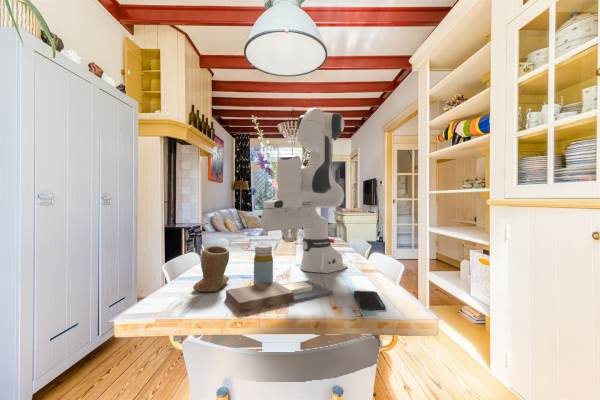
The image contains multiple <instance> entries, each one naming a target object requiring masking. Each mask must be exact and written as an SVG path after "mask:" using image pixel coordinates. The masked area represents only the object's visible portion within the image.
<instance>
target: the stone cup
mask: <svg viewBox="0 0 600 400" xmlns="http://www.w3.org/2000/svg"><path fill="white" fill-rule="evenodd" d="M229 260H230V251H229V249H228V248H226V247H223V246H220V245H219V246H218V245H211V246H207V247H205V248H204V249H203V250H202V253H201V259H200V267H201V272H202V278H201V279H200V280H199V281H198V282H196V283H195V284H194V285H193V287H192V289H194V290H195V291H198V292H204V293H205V292H216V291H218V290H220V289H221V288H222V287H223V286H225V284H226V283H228V281H229V280H230V278H229V277H228V276H227V275H225V272H226V268H227V267H228V264H229Z"/></svg>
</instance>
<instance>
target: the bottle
mask: <svg viewBox="0 0 600 400" xmlns="http://www.w3.org/2000/svg"><path fill="white" fill-rule="evenodd" d="M270 282H274V257H273V246H272V245H271V244H257V245H255V246H254V258H253V285H258V284H264V283H270Z"/></svg>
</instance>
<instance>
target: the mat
mask: <svg viewBox="0 0 600 400" xmlns="http://www.w3.org/2000/svg"><path fill="white" fill-rule="evenodd" d="M298 282H299V281H295V282H294V283H298ZM300 282H305V283H307V284H309V285H311V286H312V291H307V292H302V293H297V294H294V301H293V302H294V303H298V302H303V301H308V300H312V299H317V298H323V297H325V296H330V295H333V294H334V291H333V290H331V289H329V288H327V287H326V286H325V287H324V286H323V285H320V284H319V283H316V282H314V281H312V280H310V279H307V280H303V281H302V280H301V281H300ZM292 283H293V282H291V283H290V282H289V284H292ZM287 284H288V283H284V284H283V285H287Z"/></svg>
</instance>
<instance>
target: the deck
mask: <svg viewBox="0 0 600 400" xmlns="http://www.w3.org/2000/svg"><path fill="white" fill-rule="evenodd" d="M282 285H283V284H281V283H279V282H277V281H273V282H270V283H264V284H258V285H254V284H252V285H247V286H240V287H236V288H229V289H225V300H226V301H227V302H228V303H229V304H230V305H231V306H232V307H233V308H234V309H235V310H236V311H237V312H238V313H239V314H242V313H247V312H251V311H255V310H257V311H258V310H260V309H265V308H269V307H274V306H278V305H279V306H280V305H284V304H287V303H292V302H294V292H293V291H291V290H289V289H287V288H286V287H284V286H282Z"/></svg>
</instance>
